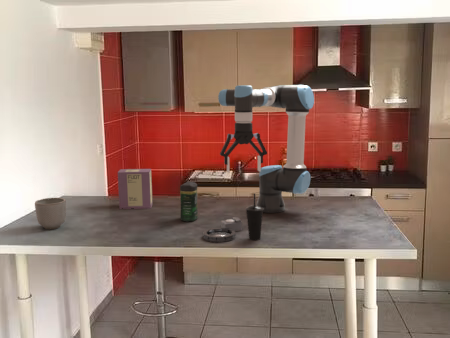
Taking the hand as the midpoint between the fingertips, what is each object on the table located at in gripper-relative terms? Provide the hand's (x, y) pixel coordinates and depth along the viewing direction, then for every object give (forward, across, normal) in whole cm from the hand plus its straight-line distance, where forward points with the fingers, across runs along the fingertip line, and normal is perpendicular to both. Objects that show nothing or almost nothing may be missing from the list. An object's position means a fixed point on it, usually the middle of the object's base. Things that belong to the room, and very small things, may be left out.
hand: (243, 171), depth 226 cm
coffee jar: (+29, +21, -33) cm, 48 cm away
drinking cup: (+29, -4, +4) cm, 30 cm away
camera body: (+29, +4, -11) cm, 32 cm away
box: (+29, +47, -64) cm, 85 cm away
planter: (+29, +86, -32) cm, 96 cm away
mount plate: (+29, +11, -1) cm, 31 cm away
